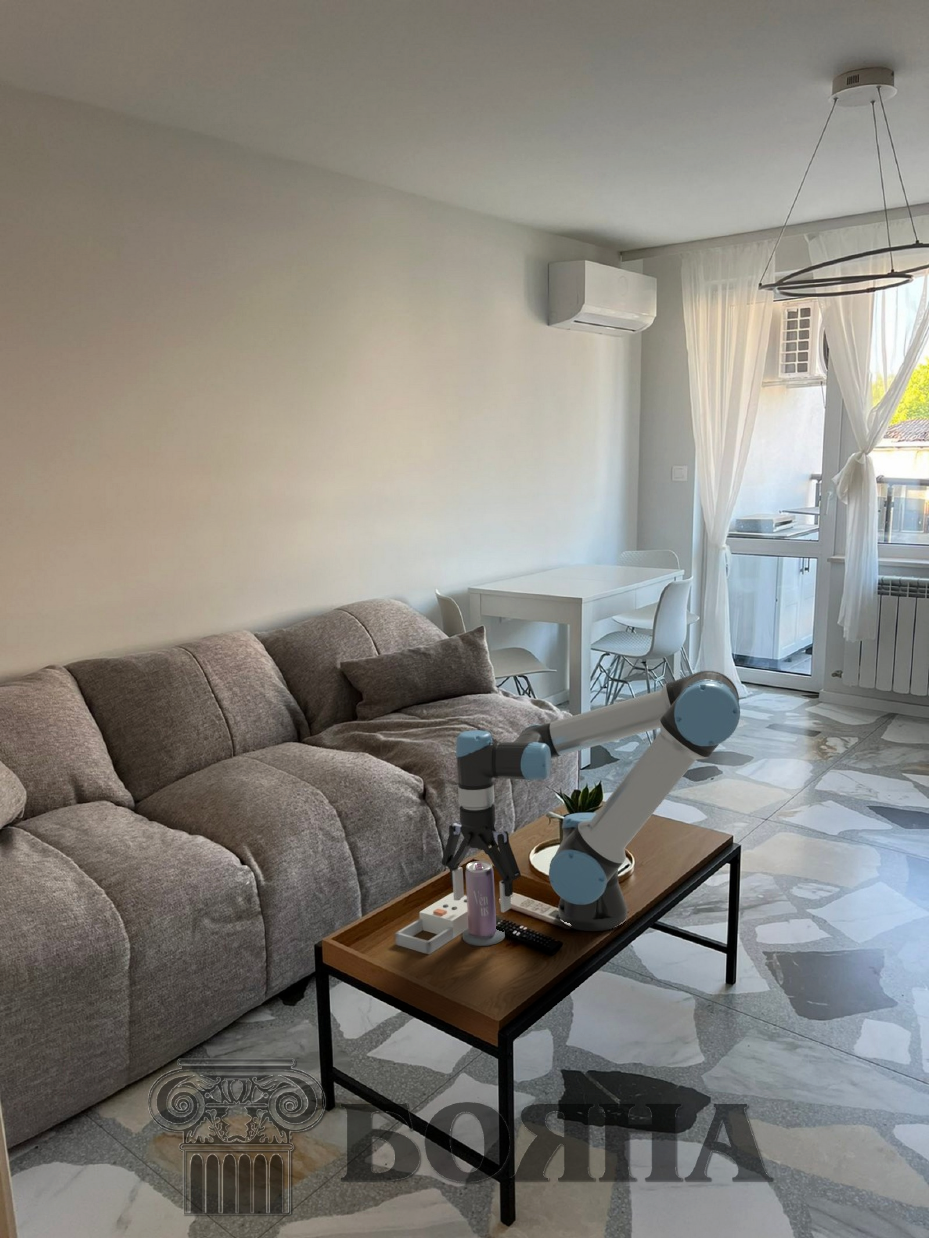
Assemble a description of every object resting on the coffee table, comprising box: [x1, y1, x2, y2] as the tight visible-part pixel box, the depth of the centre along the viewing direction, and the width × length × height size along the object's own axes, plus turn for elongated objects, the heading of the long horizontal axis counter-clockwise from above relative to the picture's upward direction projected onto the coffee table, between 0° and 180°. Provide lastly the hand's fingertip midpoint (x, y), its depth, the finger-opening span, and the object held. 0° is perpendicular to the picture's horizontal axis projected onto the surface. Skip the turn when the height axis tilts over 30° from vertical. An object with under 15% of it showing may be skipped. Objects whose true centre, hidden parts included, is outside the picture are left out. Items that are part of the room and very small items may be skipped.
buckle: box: [394, 892, 468, 955], centre depth 207 cm, size 28×9×5 cm, turn 144°
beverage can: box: [464, 860, 497, 939], centre depth 200 cm, size 6×6×15 cm
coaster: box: [462, 928, 506, 947], centre depth 201 cm, size 9×9×1 cm
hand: (482, 904), depth 200 cm, fingers open, 11 cm apart
